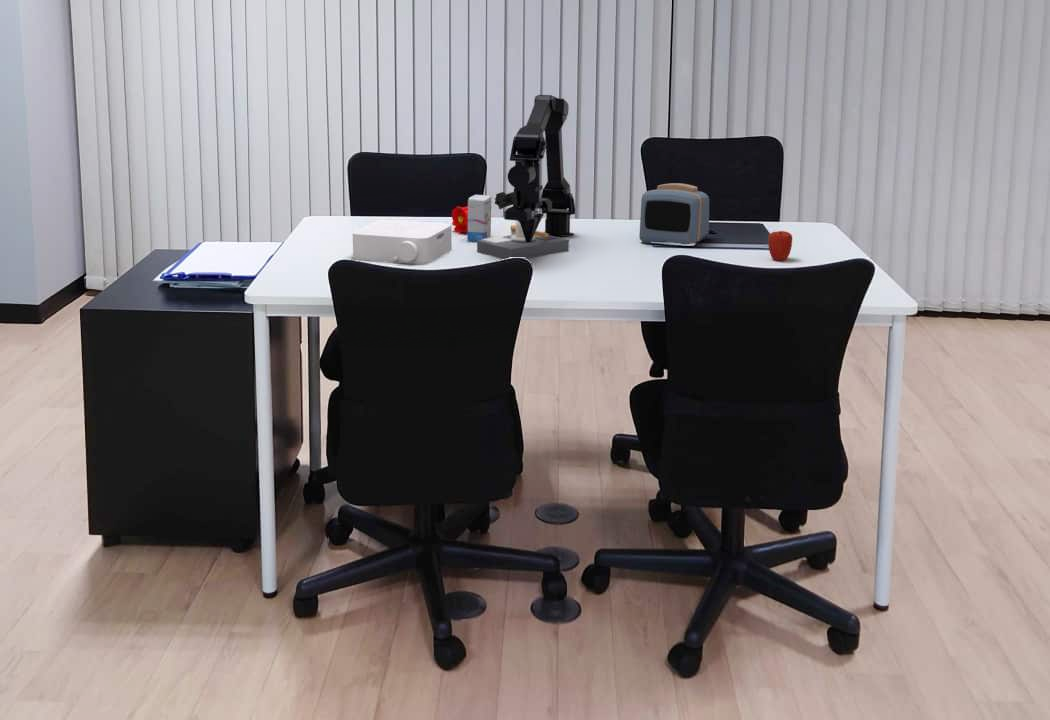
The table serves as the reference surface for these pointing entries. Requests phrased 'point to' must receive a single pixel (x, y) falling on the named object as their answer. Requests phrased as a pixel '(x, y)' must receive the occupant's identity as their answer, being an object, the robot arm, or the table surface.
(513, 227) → the orange matchstick
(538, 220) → the robot arm
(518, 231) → the plug
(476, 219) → the ink box
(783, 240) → the red rounded lump
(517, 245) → the grey flat block
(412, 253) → the projector
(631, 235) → the table surface
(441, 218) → the table surface
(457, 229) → the flower
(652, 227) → the retro portable television
